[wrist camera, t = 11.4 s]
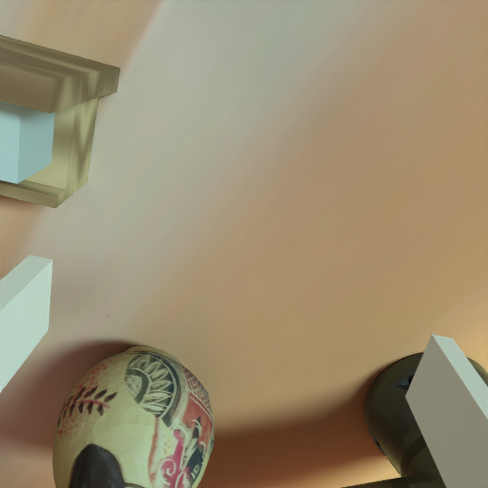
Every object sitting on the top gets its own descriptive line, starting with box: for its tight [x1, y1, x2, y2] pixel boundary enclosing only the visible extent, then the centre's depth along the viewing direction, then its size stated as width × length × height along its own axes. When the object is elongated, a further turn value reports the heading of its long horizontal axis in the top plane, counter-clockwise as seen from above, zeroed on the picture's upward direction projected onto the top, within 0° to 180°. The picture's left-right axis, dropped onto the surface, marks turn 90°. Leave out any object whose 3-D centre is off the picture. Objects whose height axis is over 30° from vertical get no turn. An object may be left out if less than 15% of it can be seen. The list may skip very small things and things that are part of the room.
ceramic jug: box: [53, 316, 214, 488], centre depth 40 cm, size 17×15×30 cm
